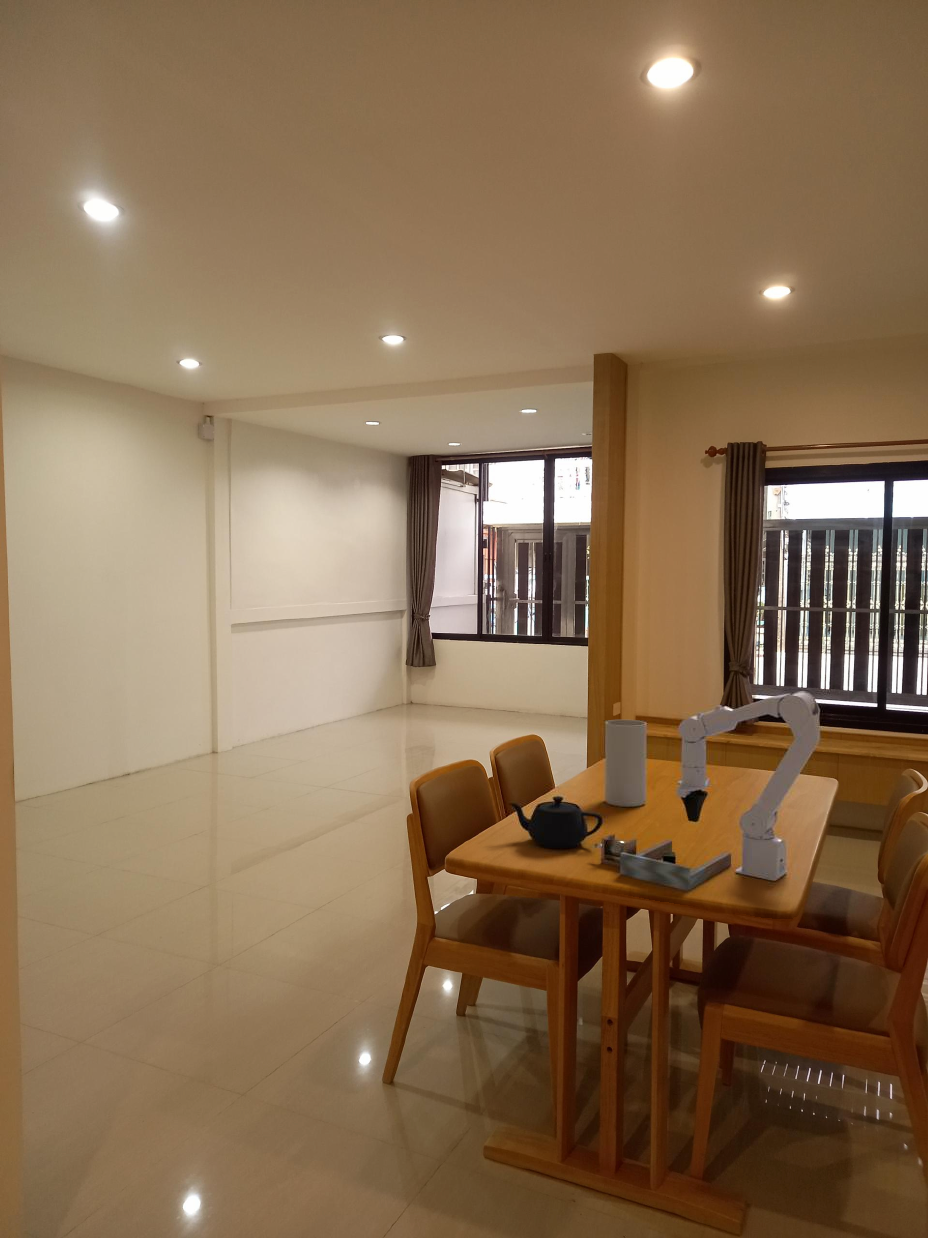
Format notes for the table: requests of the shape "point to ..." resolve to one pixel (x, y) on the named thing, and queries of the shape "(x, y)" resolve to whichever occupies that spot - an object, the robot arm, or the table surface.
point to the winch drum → (615, 849)
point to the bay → (669, 868)
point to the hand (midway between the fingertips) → (693, 821)
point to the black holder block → (669, 857)
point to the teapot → (557, 823)
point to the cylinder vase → (625, 763)
